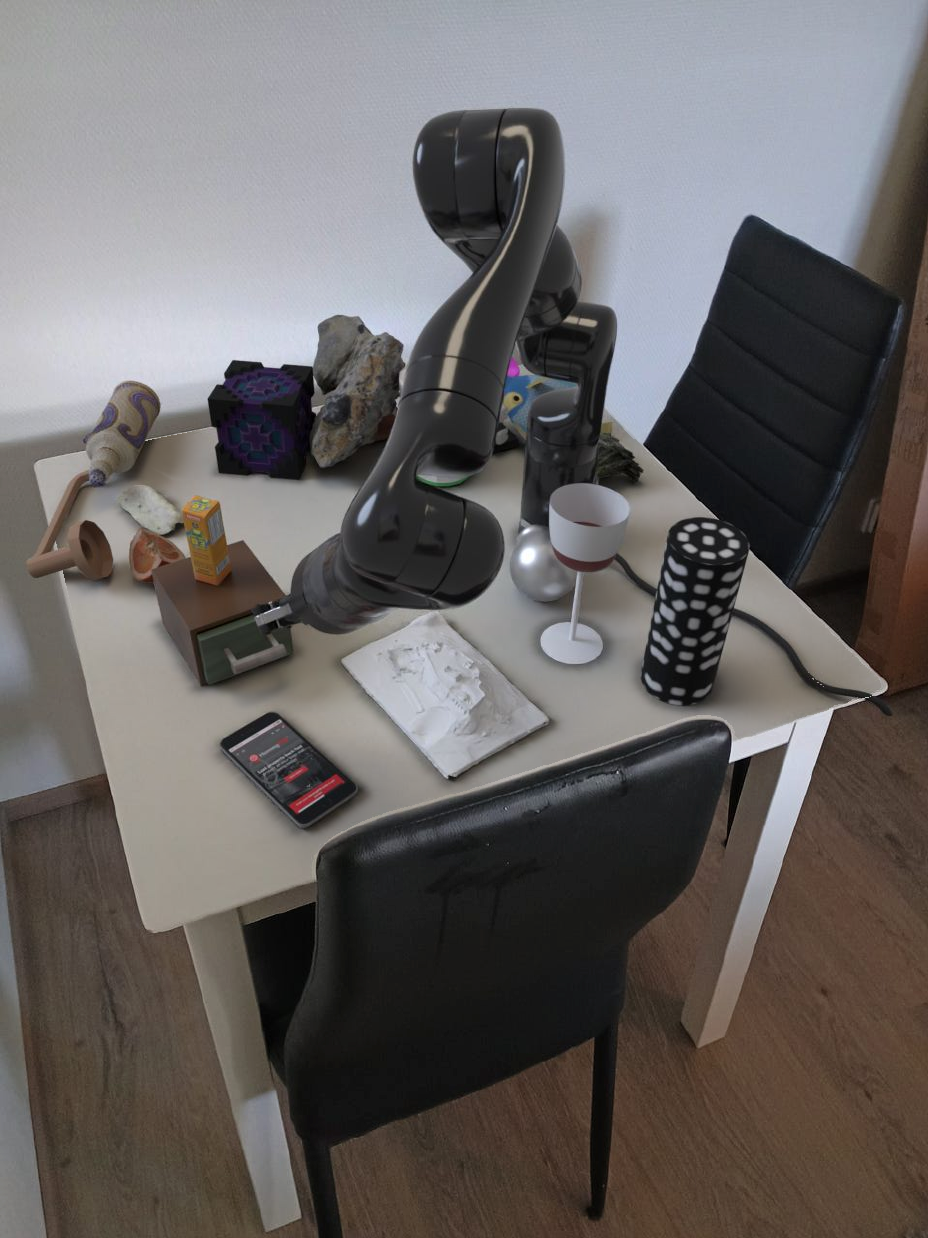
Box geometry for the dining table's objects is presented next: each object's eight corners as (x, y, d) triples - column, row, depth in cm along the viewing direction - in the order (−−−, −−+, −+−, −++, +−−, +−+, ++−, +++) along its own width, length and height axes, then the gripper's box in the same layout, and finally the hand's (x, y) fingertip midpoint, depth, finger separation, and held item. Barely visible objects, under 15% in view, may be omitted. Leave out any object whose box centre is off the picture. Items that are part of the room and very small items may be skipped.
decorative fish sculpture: (513, 330, 150) (496, 411, 143) (634, 372, 153) (622, 454, 147) (489, 378, 161) (471, 455, 154) (602, 417, 164) (589, 494, 158)
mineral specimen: (654, 497, 145) (614, 509, 154) (646, 410, 146) (606, 426, 155) (567, 499, 139) (530, 510, 148) (559, 407, 139) (522, 424, 148)
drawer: (306, 673, 114) (302, 629, 110) (222, 707, 110) (213, 662, 106) (252, 599, 124) (246, 556, 120) (173, 627, 120) (163, 583, 115)
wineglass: (589, 675, 117) (610, 536, 104) (523, 647, 120) (536, 508, 107) (618, 637, 122) (642, 499, 109) (555, 611, 125) (570, 475, 112)
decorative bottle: (106, 406, 156) (120, 370, 153) (153, 427, 159) (168, 392, 155) (57, 487, 136) (71, 448, 132) (111, 511, 138) (127, 473, 135)
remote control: (519, 449, 155) (473, 402, 164) (520, 439, 153) (473, 392, 163) (491, 456, 153) (446, 408, 162) (491, 446, 152) (446, 398, 161)
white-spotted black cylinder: (712, 711, 113) (750, 570, 100) (637, 699, 114) (665, 558, 101) (713, 661, 119) (749, 523, 106) (642, 650, 120) (669, 512, 107)
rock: (397, 452, 133) (304, 381, 127) (327, 499, 150) (242, 438, 144) (464, 320, 144) (382, 249, 139) (392, 377, 161) (316, 316, 155)
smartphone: (302, 827, 98) (216, 742, 106) (302, 831, 99) (217, 747, 107) (360, 787, 102) (273, 708, 110) (360, 792, 103) (274, 713, 111)
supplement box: (192, 581, 115) (178, 508, 108) (208, 564, 117) (196, 492, 110) (217, 588, 114) (204, 515, 107) (233, 571, 116) (222, 498, 110)
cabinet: (293, 651, 119) (286, 596, 113) (200, 686, 114) (189, 630, 108) (251, 593, 126) (243, 539, 121) (162, 624, 122) (150, 569, 116)
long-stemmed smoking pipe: (88, 499, 146) (60, 456, 141) (144, 480, 145) (117, 437, 140) (41, 608, 127) (6, 563, 122) (105, 588, 125) (72, 542, 120)
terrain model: (428, 618, 125) (427, 585, 122) (566, 711, 112) (569, 677, 109) (321, 680, 116) (317, 646, 113) (457, 789, 103) (457, 754, 100)
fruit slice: (123, 563, 130) (115, 532, 127) (174, 548, 133) (167, 517, 129) (144, 600, 125) (136, 568, 121) (196, 583, 127) (190, 551, 124)
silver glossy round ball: (610, 562, 124) (561, 499, 126) (564, 587, 118) (513, 521, 120) (570, 599, 131) (525, 539, 133) (525, 625, 125) (477, 561, 126)
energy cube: (318, 438, 155) (312, 366, 147) (299, 480, 146) (292, 405, 138) (242, 431, 156) (232, 359, 148) (218, 472, 147) (207, 398, 139)
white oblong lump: (112, 500, 140) (122, 473, 139) (141, 504, 144) (151, 478, 143) (158, 542, 134) (169, 515, 133) (187, 545, 138) (198, 518, 137)
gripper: (404, 513, 83) (344, 554, 99) (255, 564, 78) (217, 598, 94) (437, 598, 83) (372, 625, 99) (291, 654, 78) (246, 673, 94)
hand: (297, 612), depth 96 cm, fingers closed
